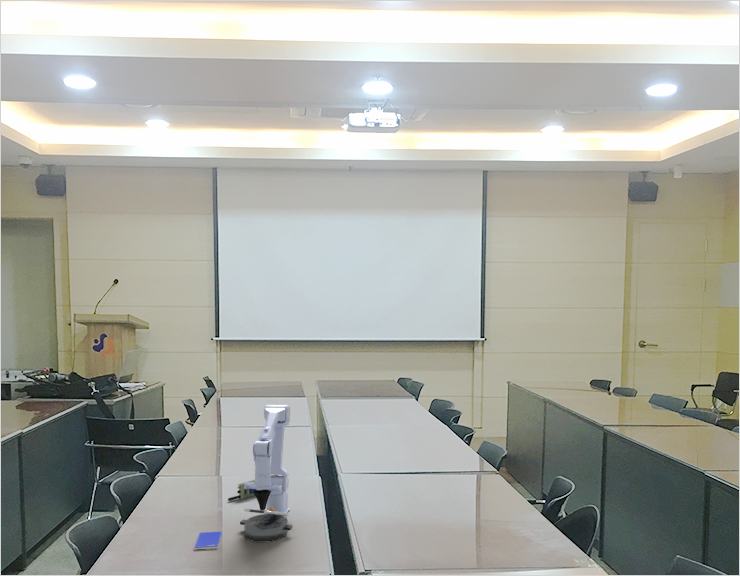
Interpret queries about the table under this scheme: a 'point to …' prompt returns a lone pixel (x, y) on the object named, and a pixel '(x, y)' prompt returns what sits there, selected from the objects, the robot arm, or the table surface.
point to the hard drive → (208, 540)
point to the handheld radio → (245, 491)
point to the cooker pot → (265, 527)
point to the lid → (266, 511)
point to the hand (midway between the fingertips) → (263, 509)
